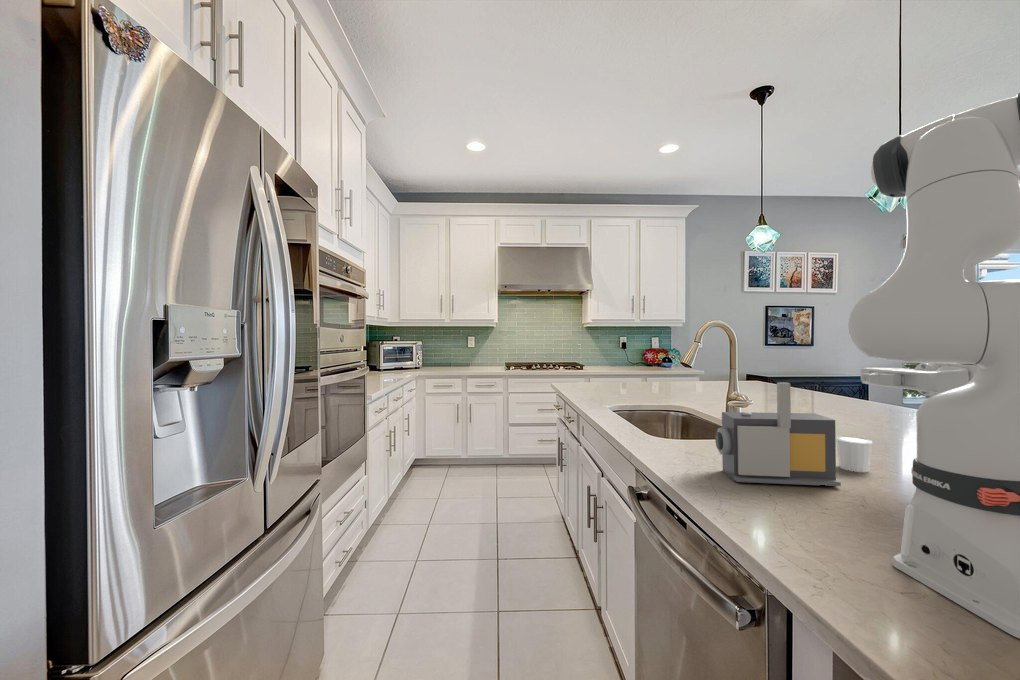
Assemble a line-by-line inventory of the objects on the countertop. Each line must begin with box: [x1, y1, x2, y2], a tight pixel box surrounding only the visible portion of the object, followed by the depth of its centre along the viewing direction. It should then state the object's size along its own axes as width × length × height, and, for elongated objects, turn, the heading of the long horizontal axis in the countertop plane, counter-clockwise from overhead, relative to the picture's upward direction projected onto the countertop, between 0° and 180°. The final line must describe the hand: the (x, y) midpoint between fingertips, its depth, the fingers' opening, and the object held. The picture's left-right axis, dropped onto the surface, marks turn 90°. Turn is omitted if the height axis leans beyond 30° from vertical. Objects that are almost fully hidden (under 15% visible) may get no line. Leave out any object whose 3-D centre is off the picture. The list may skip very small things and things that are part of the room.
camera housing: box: [714, 411, 842, 487], centre depth 94 cm, size 10×22×15 cm, turn 80°
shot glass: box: [835, 436, 873, 473], centre depth 100 cm, size 7×7×7 cm
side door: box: [737, 382, 792, 477], centre depth 90 cm, size 1×10×20 cm, turn 80°
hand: (864, 378), depth 87 cm, fingers closed
